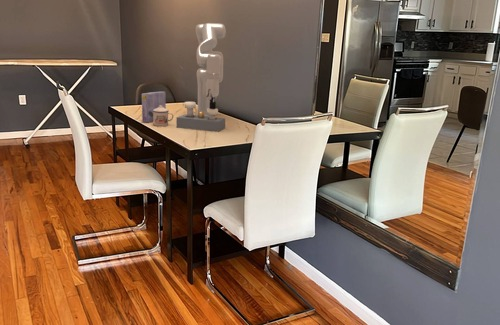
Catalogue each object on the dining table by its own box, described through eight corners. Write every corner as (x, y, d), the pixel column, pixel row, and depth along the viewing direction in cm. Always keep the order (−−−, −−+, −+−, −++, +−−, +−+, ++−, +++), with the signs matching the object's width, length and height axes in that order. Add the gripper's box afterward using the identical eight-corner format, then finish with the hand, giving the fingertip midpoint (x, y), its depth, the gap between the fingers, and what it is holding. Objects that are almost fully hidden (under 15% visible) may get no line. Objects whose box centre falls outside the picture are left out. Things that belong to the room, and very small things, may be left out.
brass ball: (199, 117, 272) (199, 111, 271) (205, 117, 271) (205, 111, 270) (197, 117, 269) (197, 112, 268) (202, 118, 268) (202, 112, 267)
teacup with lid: (153, 126, 269) (153, 106, 266) (152, 123, 278) (152, 104, 275) (174, 126, 273) (174, 106, 269) (172, 123, 281) (172, 104, 278)
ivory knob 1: (187, 116, 276) (187, 101, 274) (197, 117, 274) (197, 102, 272) (182, 117, 270) (182, 102, 268) (192, 118, 268) (193, 103, 266)
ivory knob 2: (209, 122, 273) (209, 107, 271) (219, 123, 271) (219, 108, 269) (205, 124, 267) (205, 109, 265) (215, 125, 265) (215, 110, 263)
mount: (185, 123, 281) (185, 114, 279) (225, 128, 274) (225, 118, 272) (176, 127, 270) (176, 117, 268) (218, 131, 263) (218, 121, 261)
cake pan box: (161, 118, 297) (160, 90, 292) (167, 118, 295) (167, 91, 290) (141, 122, 280) (140, 93, 275) (147, 123, 278) (147, 94, 273)
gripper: (211, 75, 270) (211, 106, 275) (201, 77, 256) (201, 110, 261) (223, 76, 268) (223, 107, 273) (214, 78, 254) (213, 111, 259)
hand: (212, 108), depth 267 cm, fingers closed
